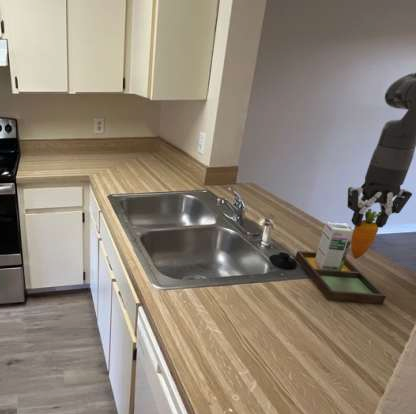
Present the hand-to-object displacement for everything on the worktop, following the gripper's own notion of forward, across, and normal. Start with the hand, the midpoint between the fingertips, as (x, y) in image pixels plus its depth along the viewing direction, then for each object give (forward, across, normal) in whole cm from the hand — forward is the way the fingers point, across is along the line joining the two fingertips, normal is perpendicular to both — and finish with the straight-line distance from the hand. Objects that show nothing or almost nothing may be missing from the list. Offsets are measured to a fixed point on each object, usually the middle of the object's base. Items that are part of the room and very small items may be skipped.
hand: (367, 225), depth 88 cm
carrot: (+11, 0, 0) cm, 11 cm away
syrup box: (+20, 0, +11) cm, 23 cm away
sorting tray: (+21, 0, +5) cm, 22 cm away
